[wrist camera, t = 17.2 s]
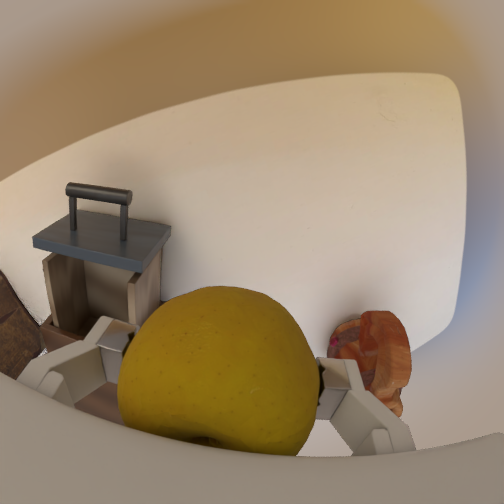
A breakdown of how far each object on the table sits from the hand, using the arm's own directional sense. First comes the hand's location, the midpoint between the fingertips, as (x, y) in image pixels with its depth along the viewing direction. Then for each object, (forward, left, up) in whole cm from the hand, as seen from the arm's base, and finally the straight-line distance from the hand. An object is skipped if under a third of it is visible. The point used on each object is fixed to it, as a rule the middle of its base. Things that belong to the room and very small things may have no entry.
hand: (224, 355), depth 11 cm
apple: (0, 0, -3) cm, 3 cm away
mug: (+21, +4, -24) cm, 32 cm away
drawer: (-2, -17, -22) cm, 28 cm away
